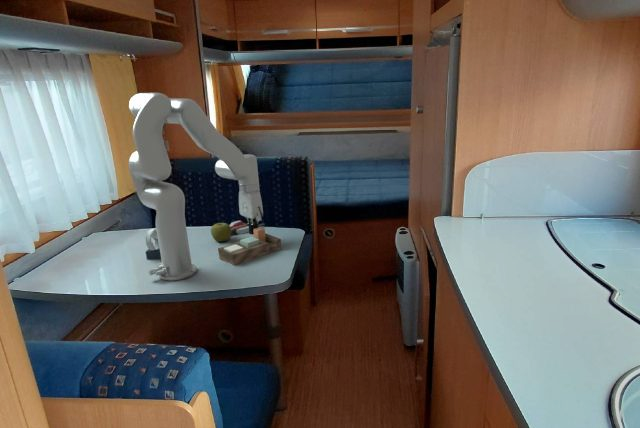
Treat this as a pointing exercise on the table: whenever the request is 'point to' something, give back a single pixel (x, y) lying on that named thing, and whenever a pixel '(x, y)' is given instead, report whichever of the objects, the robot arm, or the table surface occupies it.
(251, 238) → the button
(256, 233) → the slider
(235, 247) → the button
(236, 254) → the brown wooden tray
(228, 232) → the apple
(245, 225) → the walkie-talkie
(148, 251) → the white sculpture
